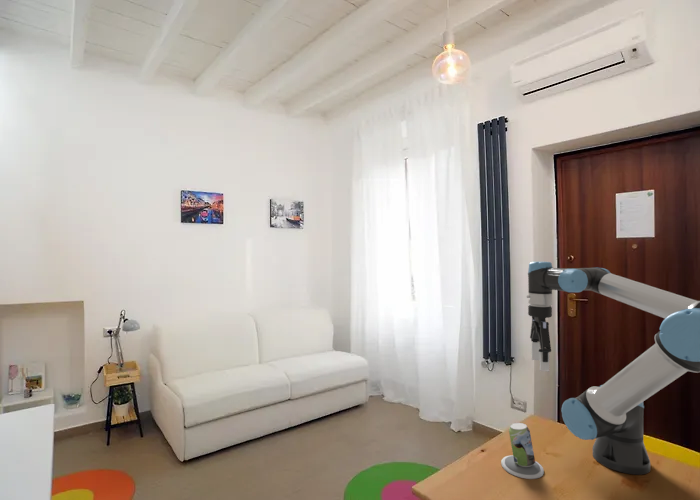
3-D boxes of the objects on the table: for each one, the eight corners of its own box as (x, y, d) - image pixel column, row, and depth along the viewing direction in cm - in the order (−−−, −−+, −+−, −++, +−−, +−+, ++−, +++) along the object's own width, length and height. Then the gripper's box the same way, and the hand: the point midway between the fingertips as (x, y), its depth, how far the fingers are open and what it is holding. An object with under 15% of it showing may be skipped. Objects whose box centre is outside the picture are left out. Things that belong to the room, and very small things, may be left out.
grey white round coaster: (539, 460, 124) (539, 457, 124) (547, 481, 112) (547, 478, 112) (499, 454, 127) (499, 451, 127) (503, 475, 115) (503, 472, 115)
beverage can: (537, 470, 116) (537, 430, 116) (511, 468, 117) (511, 428, 117) (531, 459, 122) (531, 421, 122) (507, 457, 123) (506, 420, 124)
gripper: (522, 300, 149) (521, 355, 149) (536, 310, 125) (536, 375, 125) (543, 301, 148) (543, 356, 147) (561, 311, 123) (561, 377, 123)
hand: (539, 365), depth 136 cm, fingers open, 13 cm apart
